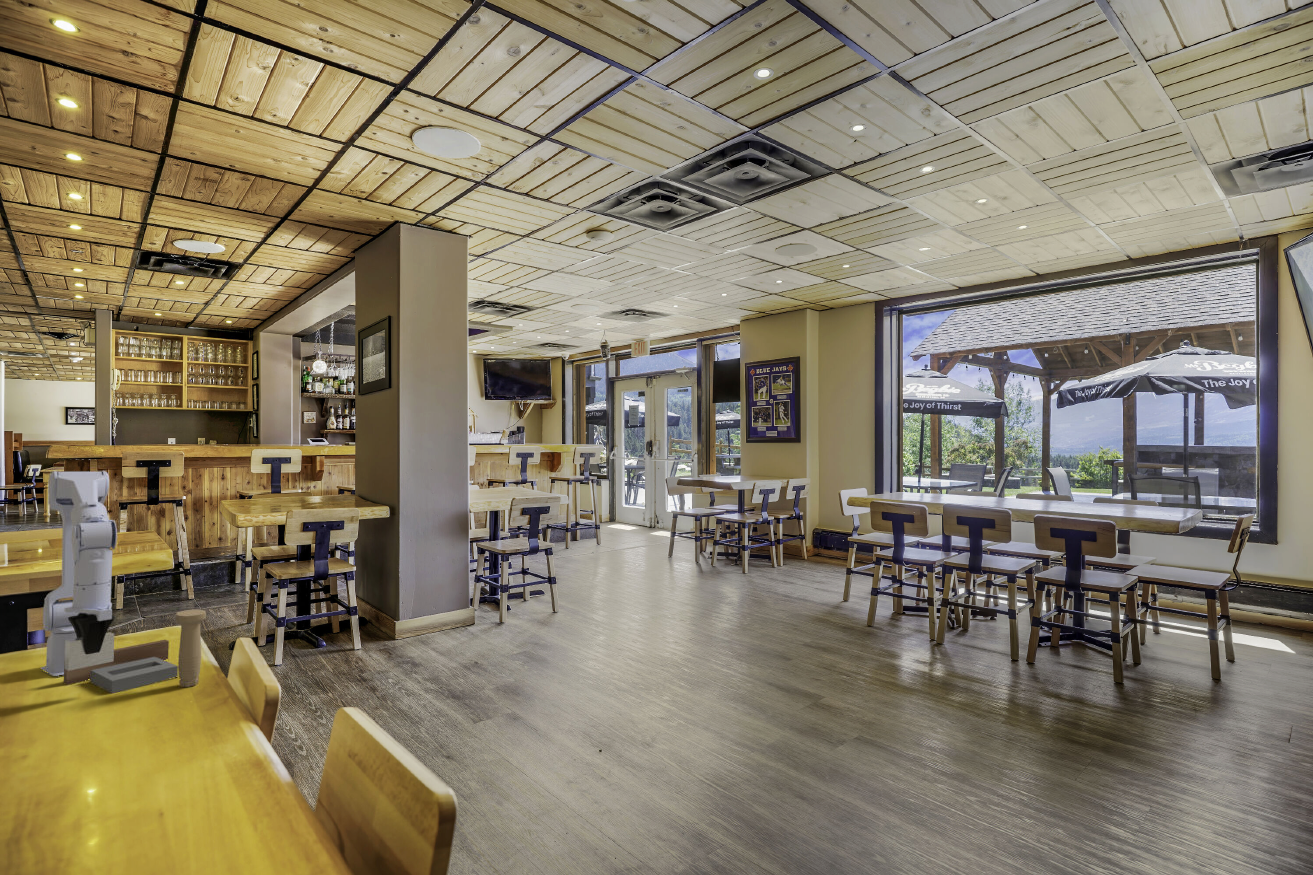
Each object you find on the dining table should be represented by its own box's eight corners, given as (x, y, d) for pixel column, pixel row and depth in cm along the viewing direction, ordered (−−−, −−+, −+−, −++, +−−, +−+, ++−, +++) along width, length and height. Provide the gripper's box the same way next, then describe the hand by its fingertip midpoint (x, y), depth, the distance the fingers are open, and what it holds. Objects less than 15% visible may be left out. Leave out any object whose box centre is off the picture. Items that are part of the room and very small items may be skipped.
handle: (179, 691, 133) (182, 617, 133) (170, 684, 137) (172, 612, 138) (207, 685, 137) (209, 613, 137) (197, 678, 141) (199, 608, 141)
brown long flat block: (63, 683, 137) (64, 658, 137) (164, 661, 152) (165, 639, 153) (66, 684, 136) (67, 660, 136) (168, 662, 151) (168, 640, 151)
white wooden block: (64, 668, 128) (65, 639, 128) (109, 659, 133) (110, 632, 134) (68, 670, 126) (69, 641, 126) (113, 661, 132) (114, 633, 132)
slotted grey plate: (90, 682, 138) (90, 670, 138) (154, 667, 148) (154, 656, 148) (111, 693, 132) (112, 680, 132) (177, 677, 141) (177, 665, 141)
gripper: (53, 581, 131) (51, 650, 131) (80, 590, 123) (77, 663, 123) (98, 576, 137) (95, 642, 136) (126, 584, 129) (123, 654, 129)
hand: (90, 651), depth 130 cm, fingers closed on white wooden block, 2 cm apart
